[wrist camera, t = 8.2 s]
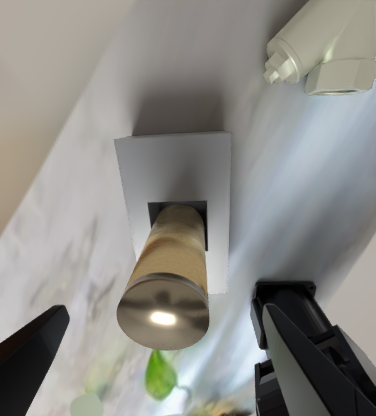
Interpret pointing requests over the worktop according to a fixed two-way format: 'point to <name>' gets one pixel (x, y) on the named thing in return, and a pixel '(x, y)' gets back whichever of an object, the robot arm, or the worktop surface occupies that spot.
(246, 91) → the worktop surface
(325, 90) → the pipe fitting
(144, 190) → the block
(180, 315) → the brass plug
